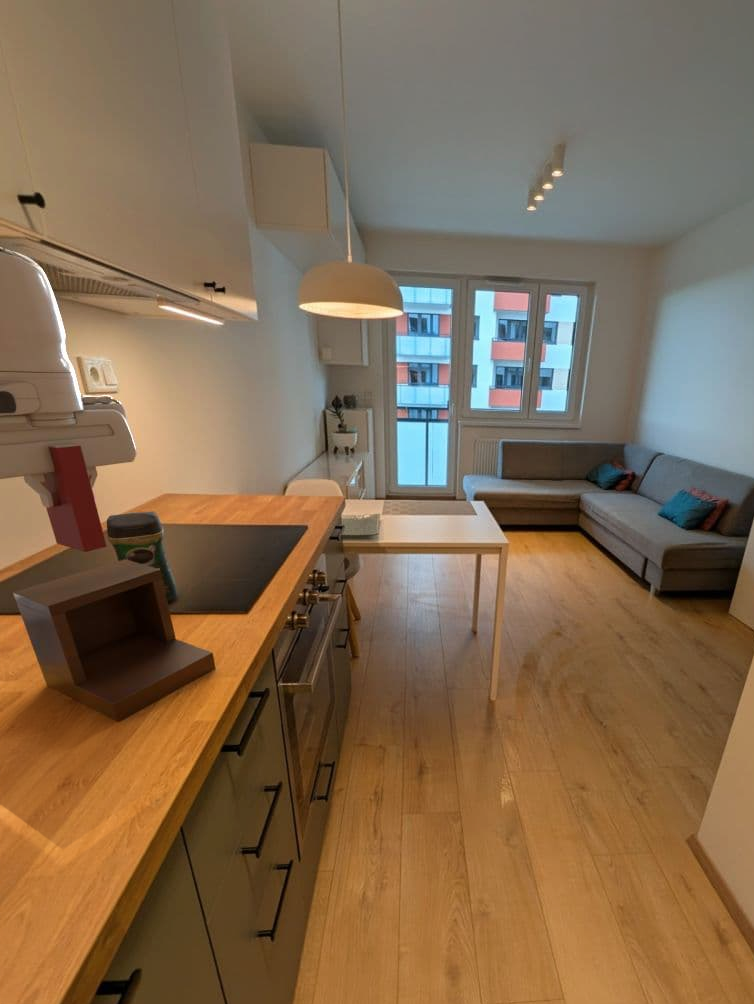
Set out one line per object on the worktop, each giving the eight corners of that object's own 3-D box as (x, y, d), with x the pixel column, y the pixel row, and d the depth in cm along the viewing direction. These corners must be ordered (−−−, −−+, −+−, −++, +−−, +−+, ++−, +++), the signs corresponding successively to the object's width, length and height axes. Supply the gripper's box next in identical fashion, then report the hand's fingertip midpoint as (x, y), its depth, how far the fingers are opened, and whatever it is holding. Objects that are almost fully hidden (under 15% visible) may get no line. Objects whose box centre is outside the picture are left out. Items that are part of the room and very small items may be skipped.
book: (56, 543, 73) (26, 442, 67) (78, 538, 76) (51, 439, 70) (85, 552, 70) (55, 447, 65) (107, 546, 73) (80, 444, 67)
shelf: (46, 685, 78) (12, 592, 71) (146, 641, 90) (125, 559, 84) (118, 722, 70) (88, 621, 64) (215, 668, 83) (198, 580, 77)
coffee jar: (177, 589, 111) (159, 506, 104) (179, 603, 105) (160, 515, 97) (126, 597, 107) (103, 511, 99) (125, 612, 101) (101, 521, 93)
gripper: (107, 393, 75) (128, 487, 80) (-75, 397, 58) (-32, 515, 64) (134, 395, 72) (154, 492, 78) (-49, 400, 55) (-6, 523, 61)
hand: (69, 503), depth 70 cm, fingers closed on book, 3 cm apart
